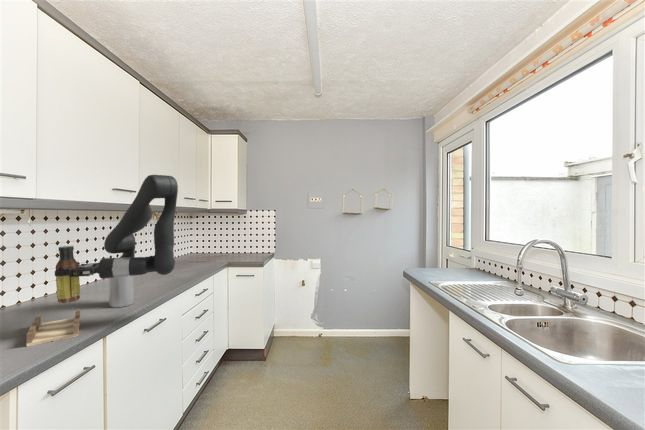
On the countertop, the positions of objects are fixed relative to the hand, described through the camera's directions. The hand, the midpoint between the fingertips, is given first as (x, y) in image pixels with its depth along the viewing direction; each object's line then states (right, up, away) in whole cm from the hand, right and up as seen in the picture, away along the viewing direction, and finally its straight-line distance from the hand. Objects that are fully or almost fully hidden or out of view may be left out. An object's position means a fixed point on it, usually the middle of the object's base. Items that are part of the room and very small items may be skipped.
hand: (59, 271), depth 101 cm
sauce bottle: (+2, -11, +1) cm, 11 cm away
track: (-2, -22, 0) cm, 22 cm away
